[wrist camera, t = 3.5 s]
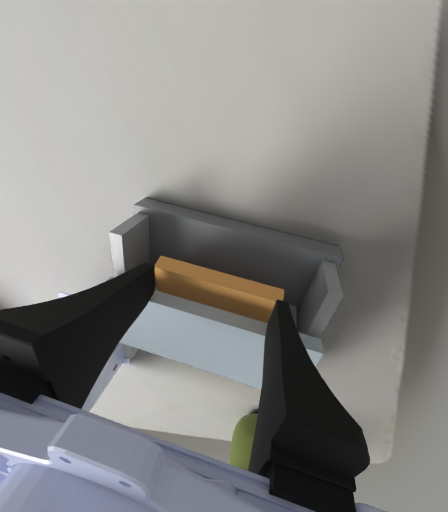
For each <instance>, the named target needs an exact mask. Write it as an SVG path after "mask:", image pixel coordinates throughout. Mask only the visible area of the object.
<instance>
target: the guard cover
mask: <svg viewBox="0 0 448 512" xmlns="http://www.w3.org/2000/svg"><path fill="white" fill-rule="evenodd" d="M110 279H113V277H110V278H109V279H108V280H110ZM108 280H107V281H108ZM267 324H268V323H265V322H262V321H258V320H255V319H251V318H248V317H245V316H241V315H238V314H235V313H231V312H228V311H224V310H221V309H218V308H214V307H211V306H208V305H204V304H201V303H197V302H194V301H191V300H187V299H184V298H181V297H177V296H174V295H170V294H167V293H164V292H160V291H157V290H155V292H154V294H153V295H152V297H151V299H150V301H149V302H148V304H147V306H146V307H145V308H144V310H143V311H142V312H141V314H140V315H139V316H138V318H137V319H136V320H135V322H134V323H133V324H132V325H131V327H130V328H129V329H128V331H127V332H126V333H125V335H124V336H123V337H122V339H121V340H120V342H119V343H123V344H126V345H129V346H132V347H135V348H138V349H141V350H144V351H147V352H150V353H153V354H156V355H159V356H162V357H165V358H168V359H171V360H174V361H177V362H180V363H183V364H186V365H189V366H192V367H195V368H198V369H201V370H204V371H208V372H211V373H214V374H217V375H220V376H223V377H226V378H229V379H232V380H235V381H238V382H241V383H244V384H247V385H250V386H253V387H256V388H259V389H262V378H263V359H264V341H265V335H266V329H267ZM299 335H300V337H301V340H302V342H303V344H304V346H305V348H306V350H307V352H308V354H309V356H310V358H311V360H312V362H313V364H314V365H315V367H316V365H317V364H318V362H319V360H320V359H321V357H322V356H323V354H324V353H323V345H322V339H319V338H316V337H312V336H309V335H305V334H302V333H299Z"/></svg>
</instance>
